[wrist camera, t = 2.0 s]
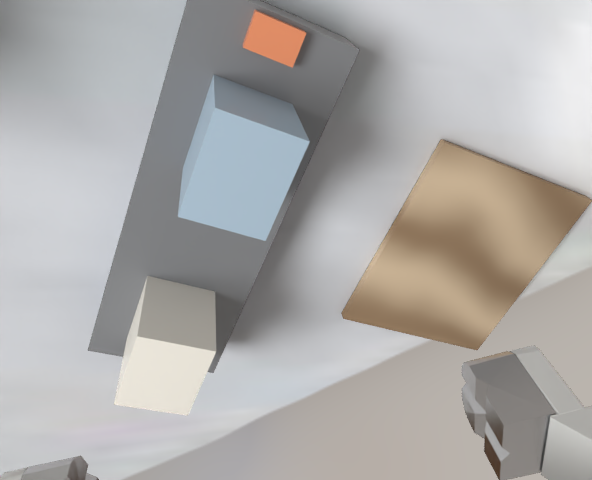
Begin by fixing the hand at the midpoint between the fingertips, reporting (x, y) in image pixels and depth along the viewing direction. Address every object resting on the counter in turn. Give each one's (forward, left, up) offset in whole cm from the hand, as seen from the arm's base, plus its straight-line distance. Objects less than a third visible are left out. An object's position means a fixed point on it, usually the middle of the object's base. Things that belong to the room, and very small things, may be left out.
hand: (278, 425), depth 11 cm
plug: (-12, 0, -19) cm, 23 cm away
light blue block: (0, 0, -19) cm, 19 cm away
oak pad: (-4, -18, -20) cm, 27 cm away
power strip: (-5, 0, -20) cm, 21 cm away
